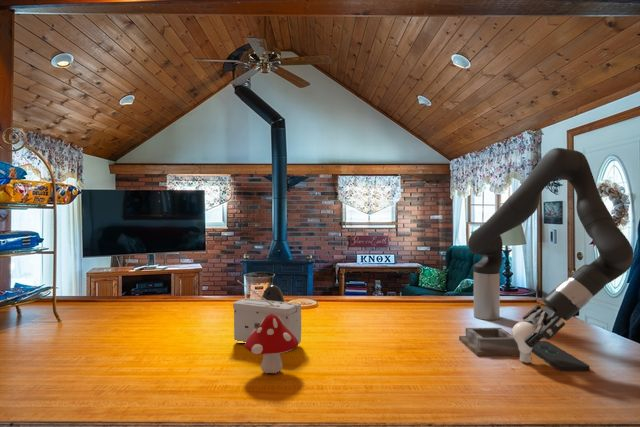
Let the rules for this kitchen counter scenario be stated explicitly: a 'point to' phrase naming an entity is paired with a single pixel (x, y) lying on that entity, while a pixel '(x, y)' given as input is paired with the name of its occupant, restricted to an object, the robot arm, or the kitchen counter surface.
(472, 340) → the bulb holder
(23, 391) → the kitchen counter surface
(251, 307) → the stereo radio cassette player
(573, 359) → the smart home device
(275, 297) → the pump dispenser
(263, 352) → the decorative mushroom
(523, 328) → the lightbulb
